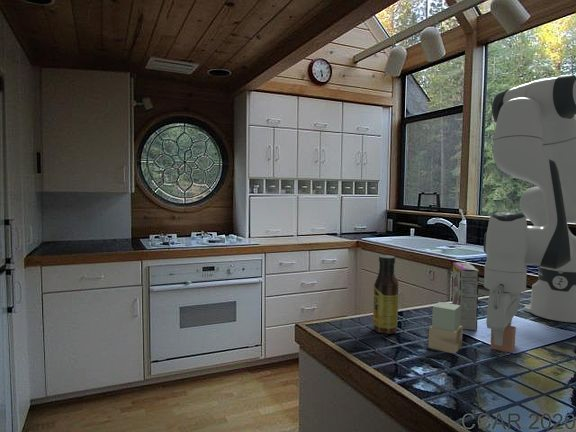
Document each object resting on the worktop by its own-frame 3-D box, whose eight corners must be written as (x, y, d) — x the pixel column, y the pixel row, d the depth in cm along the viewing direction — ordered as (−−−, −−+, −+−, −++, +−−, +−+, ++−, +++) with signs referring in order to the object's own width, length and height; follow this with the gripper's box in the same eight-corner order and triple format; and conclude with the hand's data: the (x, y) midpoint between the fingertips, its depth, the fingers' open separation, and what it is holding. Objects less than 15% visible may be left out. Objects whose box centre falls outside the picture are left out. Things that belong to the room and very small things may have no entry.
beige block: (436, 341, 105) (437, 321, 105) (461, 346, 102) (462, 326, 101) (428, 348, 100) (429, 327, 100) (454, 354, 97) (455, 332, 96)
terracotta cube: (494, 343, 104) (495, 323, 104) (514, 347, 101) (515, 326, 101) (490, 348, 100) (491, 327, 100) (511, 353, 98) (512, 331, 98)
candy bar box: (450, 317, 124) (452, 262, 123) (468, 318, 123) (470, 262, 122) (457, 329, 114) (459, 268, 112) (477, 331, 113) (480, 269, 112)
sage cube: (438, 322, 104) (439, 301, 104) (459, 326, 101) (460, 305, 101) (432, 327, 100) (432, 306, 100) (454, 331, 97) (454, 310, 97)
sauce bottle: (374, 325, 116) (376, 253, 115) (398, 328, 114) (400, 254, 113) (371, 333, 110) (373, 257, 109) (396, 336, 108) (398, 258, 107)
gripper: (512, 291, 90) (509, 355, 91) (526, 276, 106) (523, 330, 107) (480, 287, 94) (477, 348, 94) (498, 273, 110) (495, 325, 111)
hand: (502, 339), depth 101 cm, fingers open, 8 cm apart
